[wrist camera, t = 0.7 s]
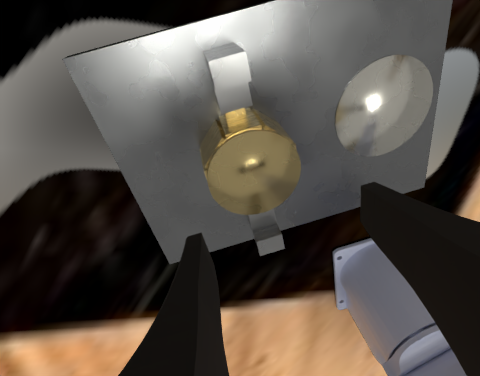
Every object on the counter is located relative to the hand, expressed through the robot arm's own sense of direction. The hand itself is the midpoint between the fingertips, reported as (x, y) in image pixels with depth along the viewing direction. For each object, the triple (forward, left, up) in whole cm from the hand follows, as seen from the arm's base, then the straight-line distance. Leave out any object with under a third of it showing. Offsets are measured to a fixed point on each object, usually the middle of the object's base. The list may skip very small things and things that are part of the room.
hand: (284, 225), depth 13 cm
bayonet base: (0, -3, -9) cm, 10 cm away
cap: (0, 0, -8) cm, 8 cm away
